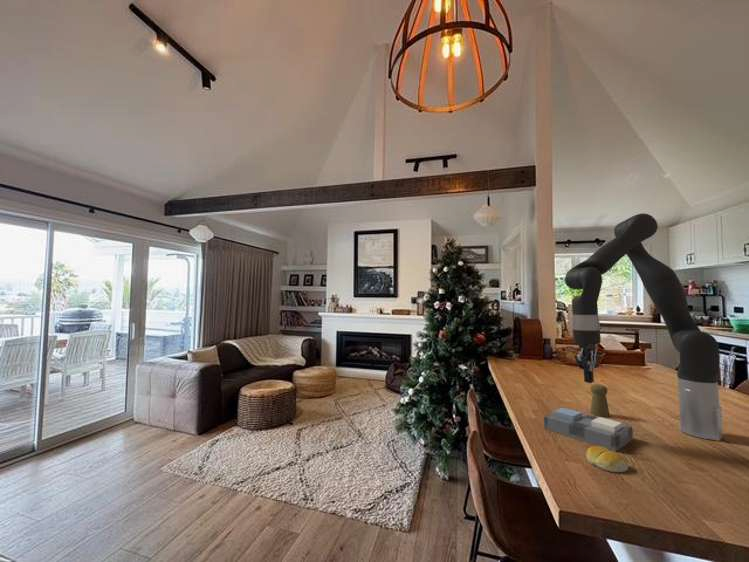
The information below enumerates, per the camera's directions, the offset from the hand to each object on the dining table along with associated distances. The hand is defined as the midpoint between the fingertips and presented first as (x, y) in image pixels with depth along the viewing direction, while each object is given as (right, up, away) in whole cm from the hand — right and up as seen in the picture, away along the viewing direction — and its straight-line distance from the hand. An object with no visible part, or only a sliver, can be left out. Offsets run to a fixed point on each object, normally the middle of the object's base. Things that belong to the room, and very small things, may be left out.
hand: (589, 382), depth 103 cm
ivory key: (+2, -13, -5) cm, 14 cm away
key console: (-1, -17, 0) cm, 17 cm away
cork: (+16, -18, +17) cm, 30 cm away
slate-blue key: (-4, -14, +4) cm, 15 cm away
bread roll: (-8, -16, -19) cm, 26 cm away
